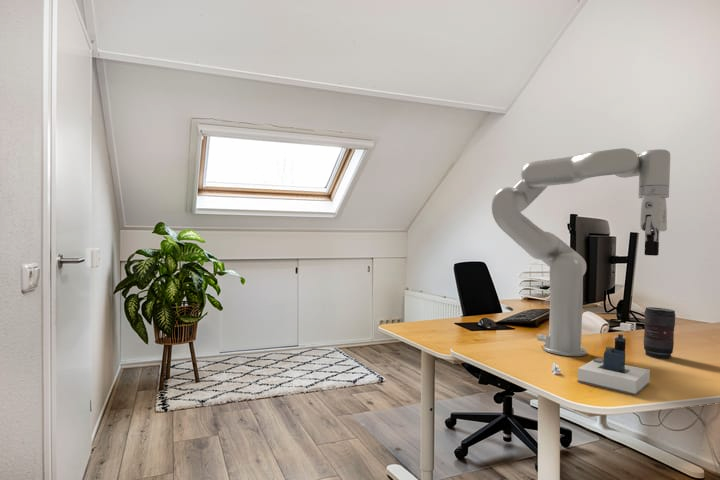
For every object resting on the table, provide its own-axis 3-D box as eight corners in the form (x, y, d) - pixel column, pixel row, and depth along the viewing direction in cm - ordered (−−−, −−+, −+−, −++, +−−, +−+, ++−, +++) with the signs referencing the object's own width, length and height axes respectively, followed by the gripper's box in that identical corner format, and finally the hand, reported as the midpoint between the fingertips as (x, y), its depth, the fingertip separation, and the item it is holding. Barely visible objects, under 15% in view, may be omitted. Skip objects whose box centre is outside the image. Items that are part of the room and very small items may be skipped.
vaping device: (620, 384, 113) (622, 336, 113) (600, 378, 118) (602, 331, 117) (626, 382, 114) (628, 335, 114) (607, 376, 119) (608, 331, 119)
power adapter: (549, 373, 124) (549, 361, 124) (559, 373, 124) (559, 362, 124) (554, 376, 121) (554, 365, 121) (564, 377, 121) (564, 365, 121)
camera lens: (678, 360, 138) (680, 311, 138) (649, 358, 140) (651, 310, 140) (666, 353, 146) (668, 307, 146) (638, 351, 148) (640, 306, 148)
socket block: (577, 381, 116) (578, 366, 116) (594, 371, 125) (595, 357, 125) (635, 395, 107) (635, 378, 106) (649, 383, 116) (650, 367, 116)
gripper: (662, 190, 125) (660, 256, 125) (674, 194, 136) (672, 255, 136) (631, 191, 130) (629, 255, 131) (645, 195, 141) (643, 254, 141)
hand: (651, 255), depth 133 cm, fingers closed
